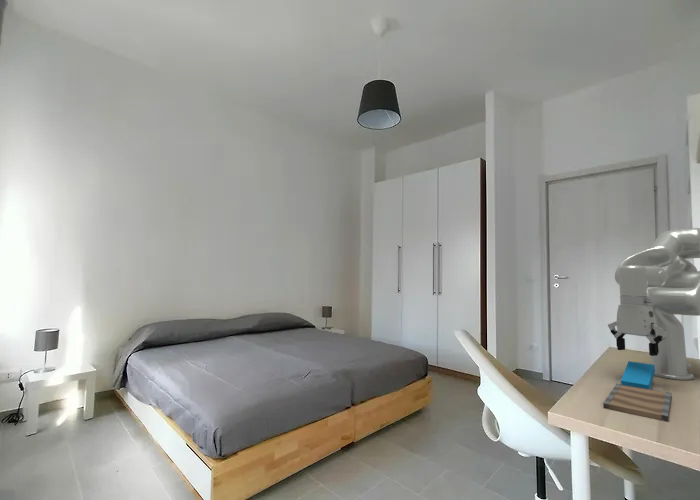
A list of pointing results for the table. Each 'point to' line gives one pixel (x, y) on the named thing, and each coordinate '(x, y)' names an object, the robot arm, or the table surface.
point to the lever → (638, 375)
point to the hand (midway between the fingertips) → (636, 352)
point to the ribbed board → (639, 402)
